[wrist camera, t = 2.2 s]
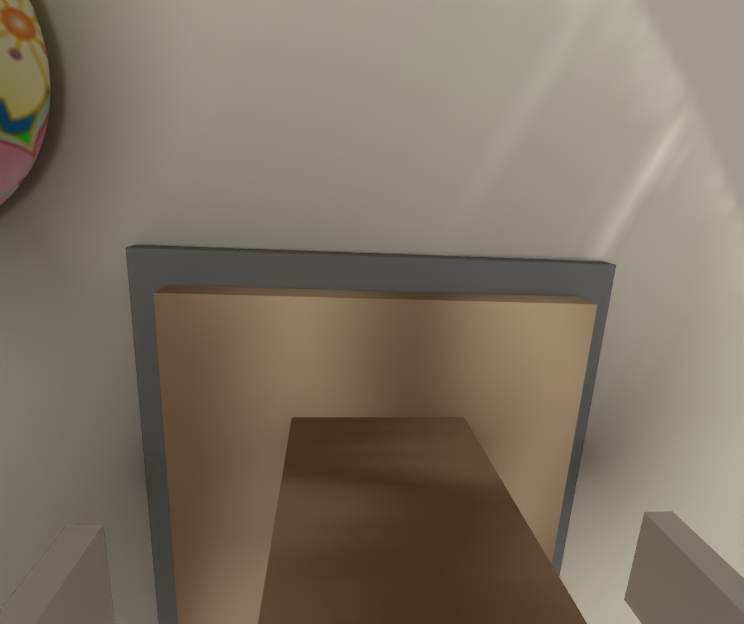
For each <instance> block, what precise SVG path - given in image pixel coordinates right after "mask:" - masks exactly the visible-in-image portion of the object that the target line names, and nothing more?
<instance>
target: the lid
mask: <svg viewBox="0 0 744 624" xmlns="http://www.w3.org/2000/svg"><path fill="white" fill-rule="evenodd" d="M154 305H155V319H156V332H157V346H158V359H159V372H160V386H161V399H162V413H163V426H164V440H165V453H166V467H167V480H168V494H169V507H170V520H171V534H172V547H173V561H174V574H175V588H176V601H177V615H178V624H587V623H586V621H585V620H584V618H583V616H582V614H581V613H580V611H579V609H578V608H577V606H576V604H575V603H574V601H573V599H572V598H571V596H570V594H569V593H568V591H567V589H566V588H565V586H564V584H563V583H562V581H561V579H560V577H559V576H558V574H557V572H556V571H555V569H554V567H553V566H552V560H553V554H554V549H555V543H556V537H557V532H558V526H559V520H560V515H561V509H562V503H563V498H564V492H565V486H566V481H567V475H568V469H569V464H570V458H571V452H572V447H573V441H574V435H575V430H576V424H577V418H578V412H579V407H580V401H581V395H582V390H583V384H584V378H585V373H586V367H587V361H588V356H589V350H590V344H591V339H592V333H593V327H594V322H595V316H596V310H597V305H598V304H595V303H593V302H591V301H588V300H586V299H584V298H581V297H578V296H542V295H505V294H469V293H432V292H396V291H359V290H323V289H287V288H250V287H214V286H177V285H166V286H165V287H163V288H161V289H160V290H158V291H156V292H154Z"/></svg>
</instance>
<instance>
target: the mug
mask: <svg viewBox="0 0 744 624" xmlns="http://www.w3.org/2000/svg"><path fill="white" fill-rule="evenodd" d="M50 88H51V87H50V73H49V64H48V58H47V52H46V47H45V43H44V39H43V35H42V32H41V28H40V25H39V23H38V20H37V17H36V14H35V11H34V9H33V6H32V4H31V2H30V0H0V205H2V204H3V203H4V202H5V201H6V200H7V199H8V198H9V197H10V196H11V195H12V194H13V193H14V192H15V191H16V189H17V188H18V187H19V186H20V185H21V183H22V182H23V181H24V179H25V178H26V176H27V174H28V173H29V171H30V170H31V168H32V166H33V164H34V162H35V160H36V158H37V156H38V154H39V151H40V148H41V145H42V143H43V140H44V136H45V132H46V128H47V124H48V117H49V109H50Z"/></svg>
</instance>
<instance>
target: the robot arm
mask: <svg viewBox="0 0 744 624" xmlns="http://www.w3.org/2000/svg"><path fill="white" fill-rule="evenodd" d="M624 600H625V601H626V602H627V604H628V605H629V607H630V608H631V609H632V611H633V612H634V613H635V615H636V616H637V618H638V619H639V620H640V622H641V623H642V624H744V578H743V577H742V576H741V575H740V574H739V573H737V572H736V571H735V570H734V569H733V568H732V567H731V566H730V565H729V564H728V563H727V562H726V561H725V560H724V559H723V558H721V557H720V556H719V555H718V554H717V553H716V552H715V551H714V550H713V549H712V548H711V547H710V546H709V545H708V544H707V543H705V542H704V541H703V540H702V539H701V538H700V537H699V536H698V535H697V534H696V533H695V532H694V531H693V530H692V529H691V528H689V527H688V526H687V525H686V524H685V523H684V522H683V521H682V520H681V519H680V518H679V517H678V516H677V515H676V514H674V513H673V512H644V516H643V521H642V525H641V529H640V534H639V538H638V542H637V547H636V551H635V556H634V560H633V564H632V569H631V573H630V577H629V582H628V586H627V590H626V595H625V599H624ZM113 623H114V612H113V604H112V595H111V587H110V579H109V570H108V562H107V553H106V545H105V536H104V528H103V524H75V525H67V526H66V527H65V528H64V529H63V531H62V532H61V533H60V535H59V536H58V537H57V538H56V540H55V541H54V542H53V544H52V545H51V546H50V547H49V549H48V550H47V551H46V552H45V554H44V555H43V556H42V558H41V559H40V560H39V561H38V563H37V564H36V565H35V567H34V568H33V569H32V570H31V572H30V573H29V574H28V576H27V577H26V578H25V579H24V581H23V582H22V583H21V584H20V586H19V587H18V588H17V590H16V591H15V592H14V593H13V595H12V596H11V597H10V599H9V600H8V601H7V602H6V604H5V605H4V606H3V607H2V609H1V610H0V624H113Z"/></svg>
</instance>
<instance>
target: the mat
mask: <svg viewBox="0 0 744 624" xmlns="http://www.w3.org/2000/svg"><path fill="white" fill-rule="evenodd" d="M126 256H127V267H128V278H129V290H130V301H131V313H132V324H133V335H134V347H135V358H136V370H137V381H138V392H139V404H140V415H141V427H142V438H143V449H144V461H145V472H146V484H147V495H148V506H149V518H150V529H151V541H152V552H153V563H154V575H155V586H156V598H157V609H158V620H159V624H178V615H177V601H176V588H175V574H174V561H173V547H172V534H171V520H170V507H169V494H168V480H167V467H166V453H165V440H164V426H163V413H162V399H161V386H160V372H159V359H158V346H157V332H156V319H155V305H154V292H156V291H158V290H160V289H161V288H163V287H165V286H166V285H177V286H214V287H250V288H287V289H323V290H359V291H396V292H432V293H469V294H505V295H542V296H578V297H581V298H584V299H586V300H588V301H591V302H593V303H595V304H598V305H597V310H596V316H595V322H594V327H593V333H592V339H591V344H590V350H589V356H588V361H587V367H586V373H585V378H584V384H583V390H582V395H581V401H580V407H579V412H578V418H577V424H576V430H575V435H574V441H573V447H572V452H571V458H570V464H569V469H568V475H567V481H566V486H565V492H564V498H563V503H562V509H561V515H560V520H559V526H558V532H557V537H556V543H555V549H554V554H553V560H552V566H553V567H554V569H555V571H556V572H557V574H558V576H559V575H560V569H561V564H562V558H563V553H564V547H565V542H566V536H567V531H568V525H569V520H570V514H571V509H572V503H573V498H574V493H575V487H576V482H577V476H578V471H579V465H580V460H581V454H582V449H583V443H584V438H585V432H586V427H587V421H588V416H589V410H590V405H591V399H592V394H593V388H594V383H595V377H596V372H597V367H598V361H599V356H600V350H601V345H602V339H603V334H604V328H605V323H606V317H607V312H608V306H609V301H610V295H611V290H612V284H613V279H614V273H615V268H616V265H615V264H611V263H607V262H596V261H568V260H540V259H512V258H484V257H455V256H427V255H399V254H371V253H343V252H315V251H287V250H259V249H230V248H202V247H174V246H146V245H133V246H130V247H126Z"/></svg>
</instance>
